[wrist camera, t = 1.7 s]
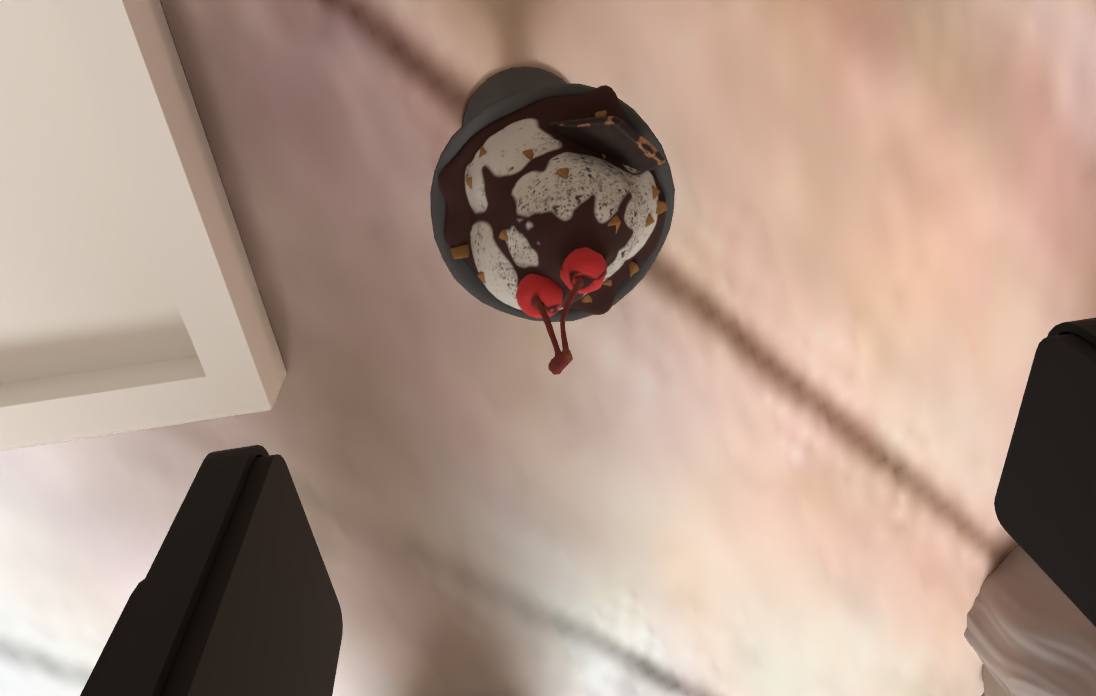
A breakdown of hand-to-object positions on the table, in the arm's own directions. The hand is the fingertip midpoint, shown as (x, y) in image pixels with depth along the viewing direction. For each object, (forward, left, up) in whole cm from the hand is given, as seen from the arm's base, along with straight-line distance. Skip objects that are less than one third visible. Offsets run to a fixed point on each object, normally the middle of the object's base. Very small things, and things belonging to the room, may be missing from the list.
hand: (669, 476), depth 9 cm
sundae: (0, 0, -22) cm, 22 cm away
